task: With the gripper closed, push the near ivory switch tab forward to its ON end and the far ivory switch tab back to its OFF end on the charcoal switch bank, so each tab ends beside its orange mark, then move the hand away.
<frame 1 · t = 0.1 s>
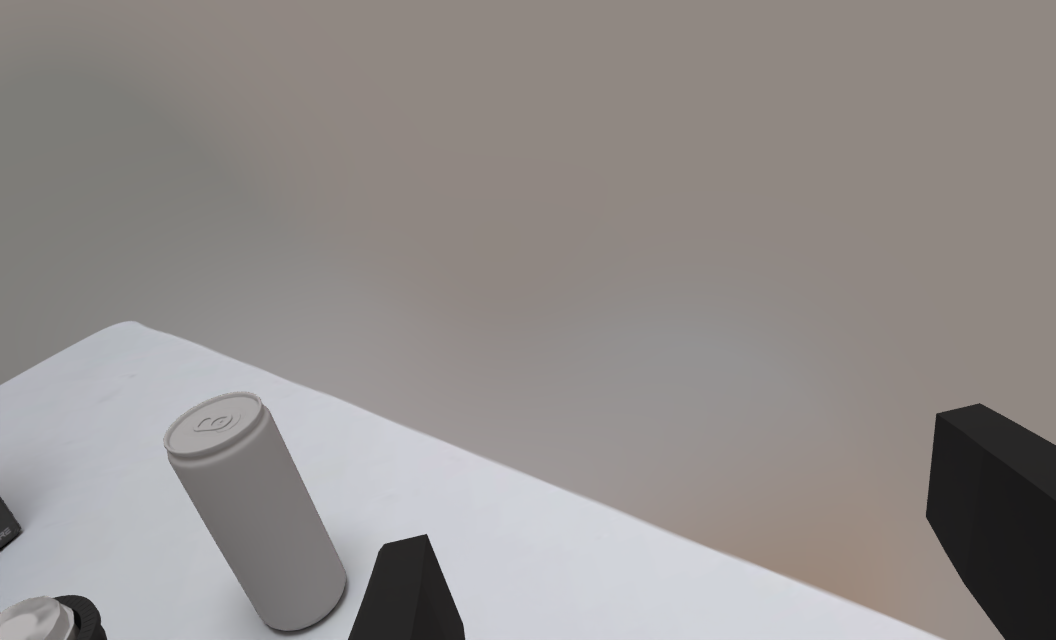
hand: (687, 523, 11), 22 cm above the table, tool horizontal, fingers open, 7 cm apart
beverage can: (307, 601, 42), on the table
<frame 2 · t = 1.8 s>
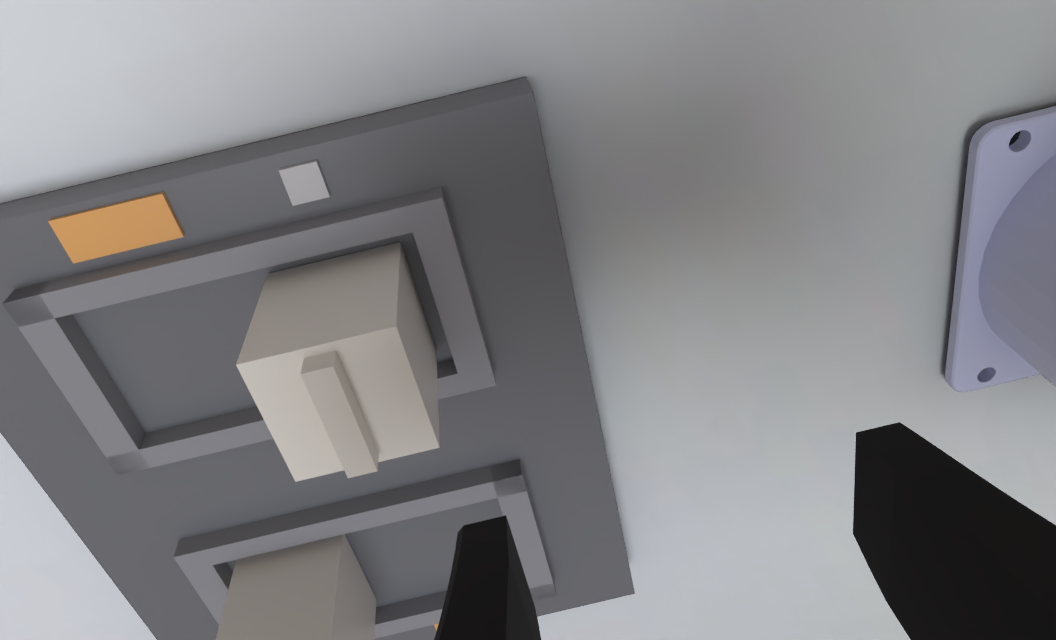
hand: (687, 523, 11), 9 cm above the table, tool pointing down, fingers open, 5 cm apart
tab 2: (300, 639, 21), point 3 cm above the table, slide at 4.0 cm
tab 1: (349, 363, 16), point 3 cm above the table, slide at 0.0 cm
switch bank: (334, 429, 21), on the table
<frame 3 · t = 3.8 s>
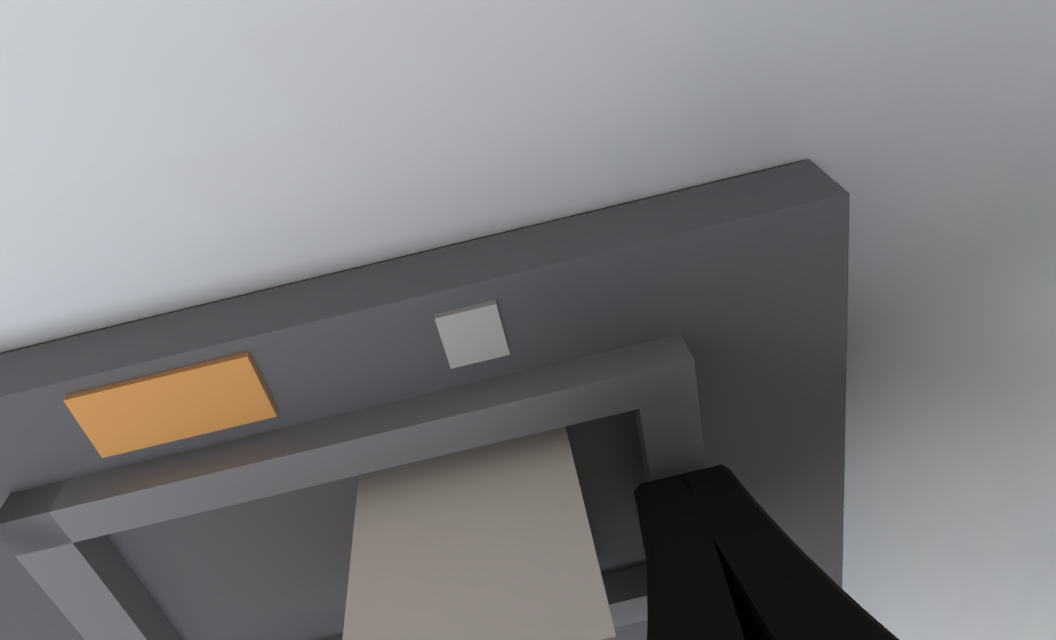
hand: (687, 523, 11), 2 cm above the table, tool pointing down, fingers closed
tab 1: (496, 632, 10), point 3 cm above the table, slide at 0.6 cm, touching gripper
switch bank: (459, 629, 15), on the table
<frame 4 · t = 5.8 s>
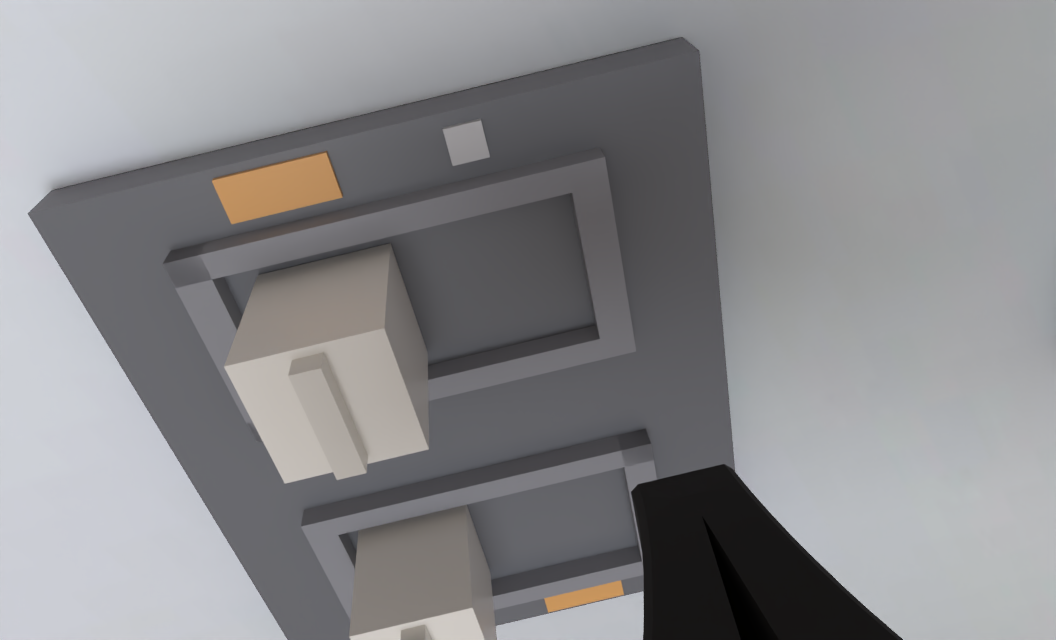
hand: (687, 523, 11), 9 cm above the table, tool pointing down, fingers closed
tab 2: (427, 608, 21), point 3 cm above the table, slide at 4.0 cm
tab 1: (338, 365, 16), point 3 cm above the table, slide at 3.7 cm
switch bank: (458, 399, 21), on the table
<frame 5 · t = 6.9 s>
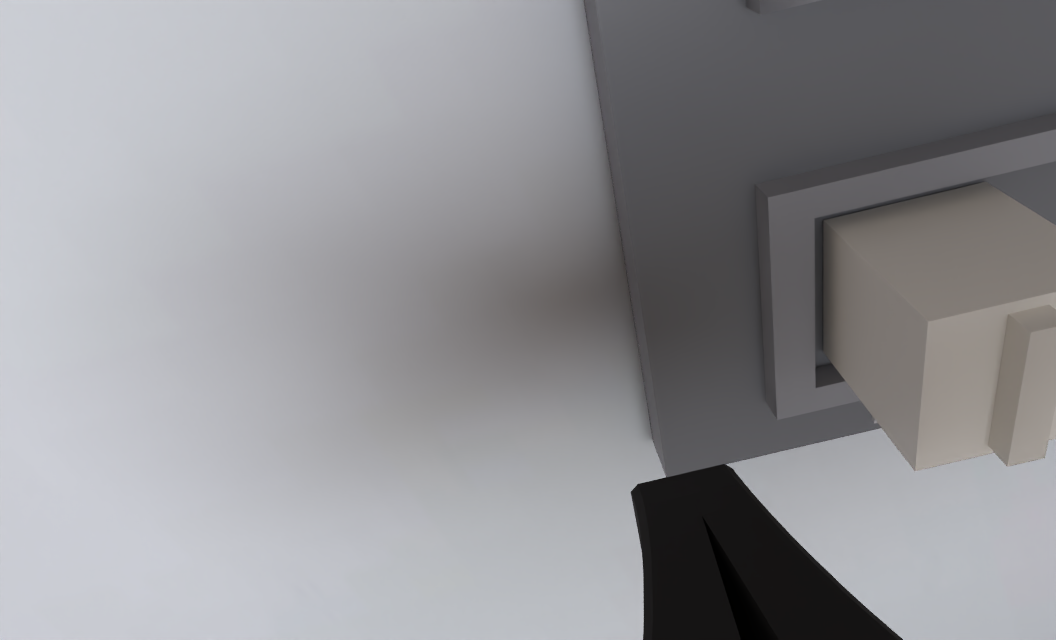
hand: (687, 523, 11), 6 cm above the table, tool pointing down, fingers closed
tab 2: (960, 327, 13), point 3 cm above the table, slide at 4.0 cm
switch bank: (986, 19, 14), on the table
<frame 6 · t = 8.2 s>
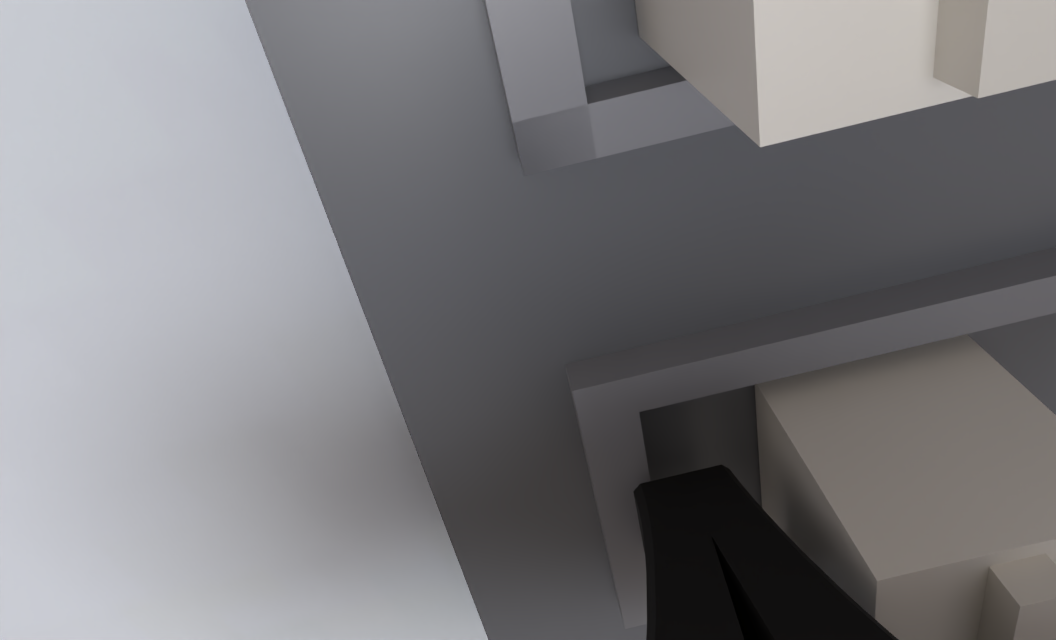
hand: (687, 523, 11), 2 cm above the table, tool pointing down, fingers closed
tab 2: (929, 535, 10), point 3 cm above the table, slide at 2.6 cm, touching gripper
switch bank: (866, 147, 11), on the table
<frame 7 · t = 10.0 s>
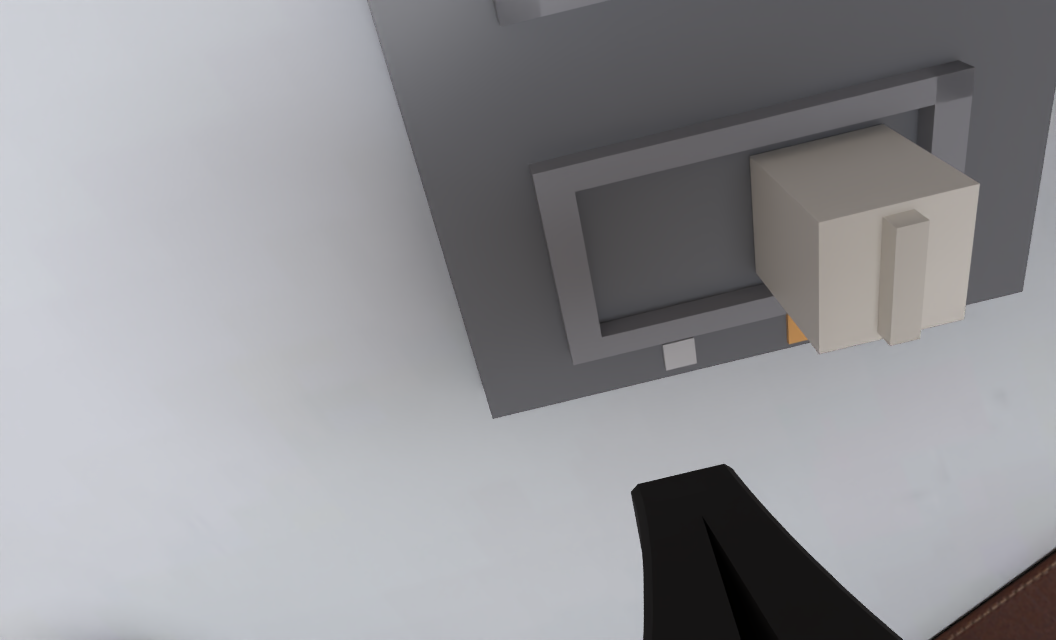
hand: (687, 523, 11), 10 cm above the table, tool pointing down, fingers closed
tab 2: (858, 239, 16), point 3 cm above the table, slide at 0.4 cm
switch bank: (719, 28, 17), on the table
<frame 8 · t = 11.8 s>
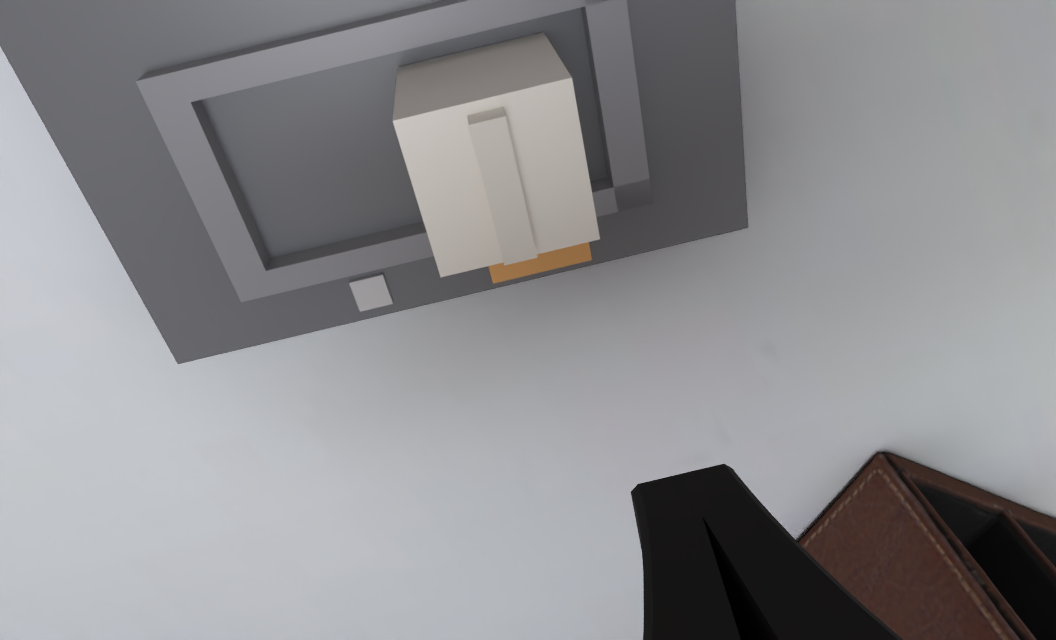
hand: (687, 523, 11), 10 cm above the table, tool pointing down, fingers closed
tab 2: (495, 153, 15), point 3 cm above the table, slide at 0.4 cm
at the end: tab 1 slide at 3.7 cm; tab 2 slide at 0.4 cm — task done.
